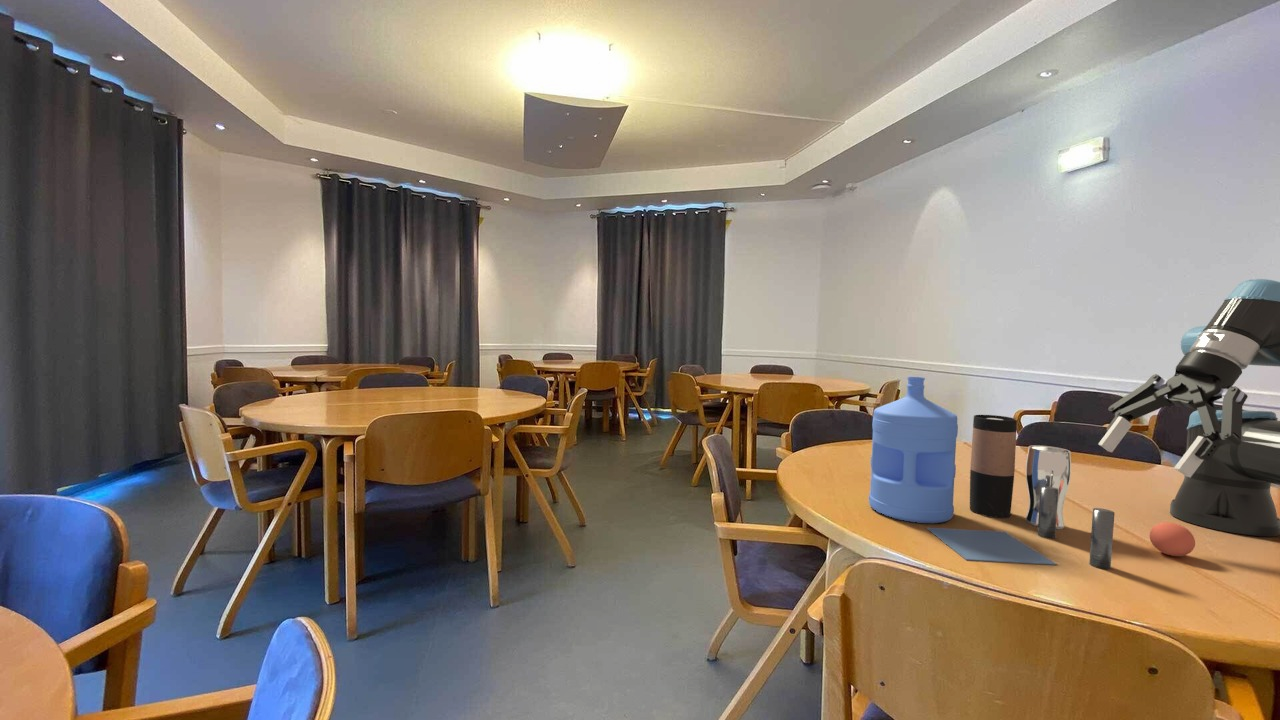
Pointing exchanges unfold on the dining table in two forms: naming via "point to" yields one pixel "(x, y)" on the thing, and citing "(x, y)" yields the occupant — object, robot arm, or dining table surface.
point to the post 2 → (1101, 538)
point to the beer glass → (1047, 478)
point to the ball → (1172, 539)
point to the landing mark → (989, 546)
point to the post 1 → (1047, 512)
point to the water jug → (913, 458)
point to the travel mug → (992, 465)
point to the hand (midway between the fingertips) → (1140, 459)
